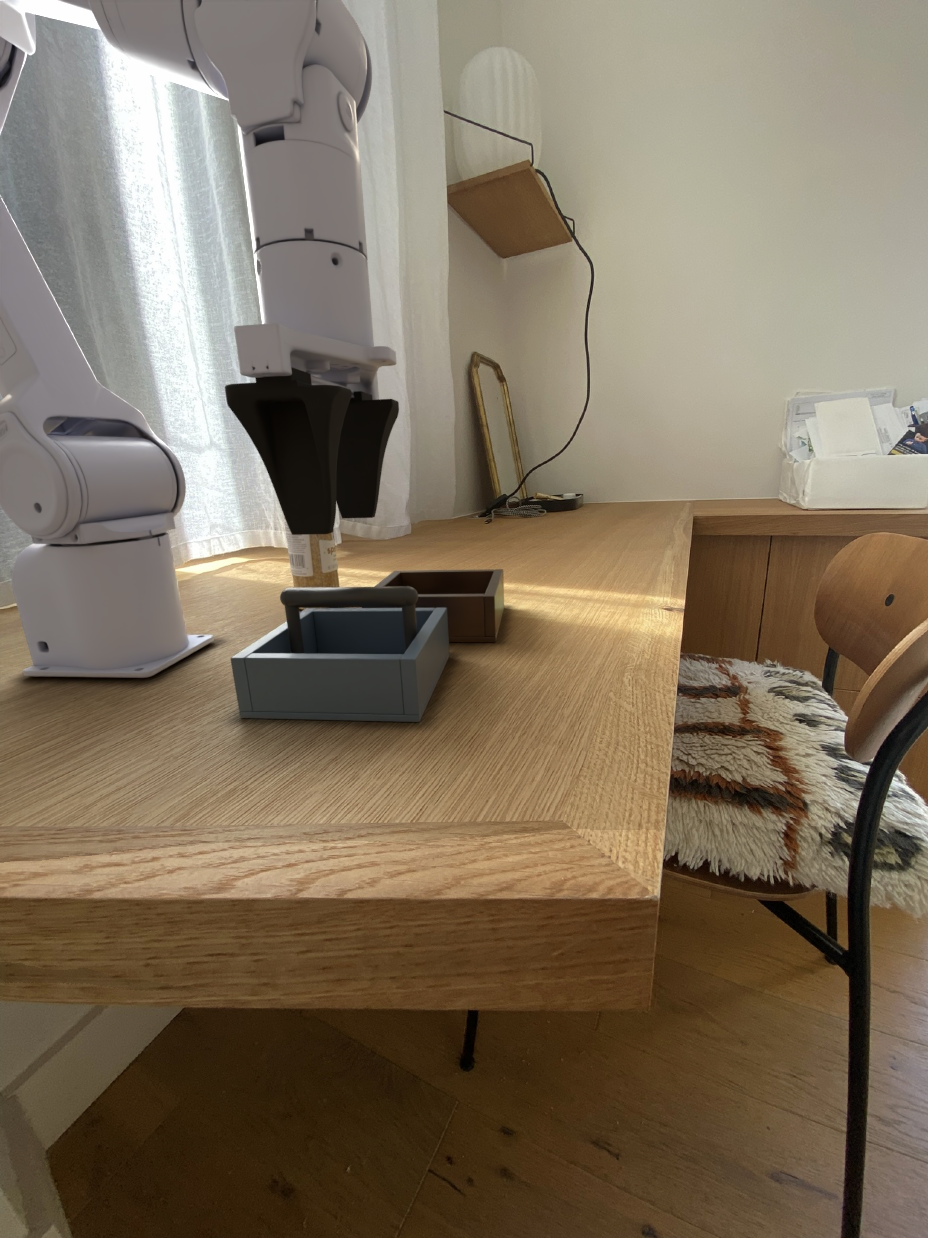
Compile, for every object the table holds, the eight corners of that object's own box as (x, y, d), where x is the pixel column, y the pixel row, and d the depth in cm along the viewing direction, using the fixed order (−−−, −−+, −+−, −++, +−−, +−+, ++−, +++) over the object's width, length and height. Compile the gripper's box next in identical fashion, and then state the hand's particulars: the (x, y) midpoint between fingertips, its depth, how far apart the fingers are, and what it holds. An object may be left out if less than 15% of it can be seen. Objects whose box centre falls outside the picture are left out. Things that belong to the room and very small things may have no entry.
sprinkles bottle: (349, 605, 53) (335, 459, 49) (302, 614, 51) (283, 461, 47) (332, 597, 57) (317, 460, 53) (288, 604, 54) (269, 462, 51)
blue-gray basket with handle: (239, 718, 30) (221, 610, 29) (311, 655, 40) (301, 571, 38) (419, 722, 29) (411, 609, 27) (449, 656, 38) (445, 569, 37)
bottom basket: (364, 641, 42) (360, 597, 41) (396, 607, 52) (393, 570, 51) (495, 642, 41) (494, 596, 40) (504, 607, 50) (503, 569, 49)
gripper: (335, 189, 21) (366, 542, 25) (417, 293, 35) (429, 510, 39) (168, 208, 22) (221, 544, 26) (311, 301, 36) (332, 513, 40)
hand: (338, 524), depth 33 cm, fingers open, 7 cm apart
